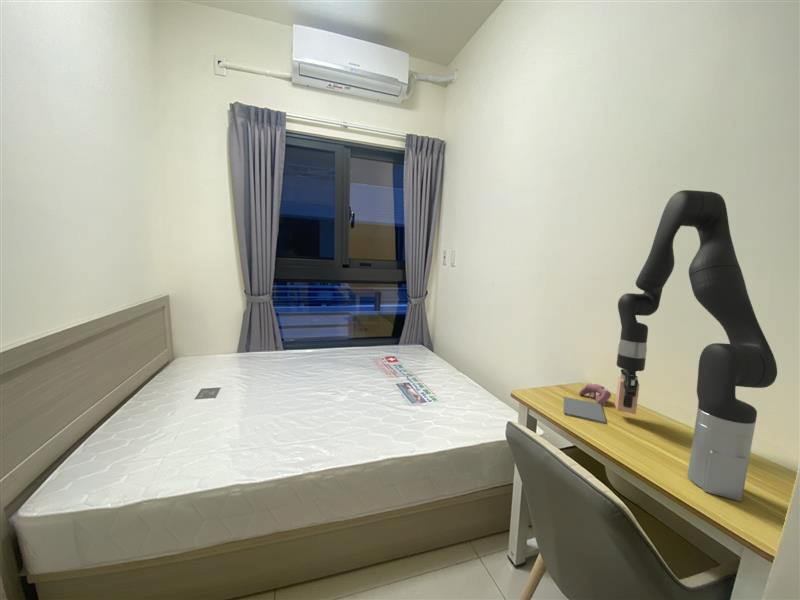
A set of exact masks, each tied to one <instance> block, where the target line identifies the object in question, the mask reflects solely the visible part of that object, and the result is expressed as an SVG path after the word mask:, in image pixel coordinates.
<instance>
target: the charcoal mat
mask: <svg viewBox="0 0 800 600" xmlns="http://www.w3.org/2000/svg"><path fill="white" fill-rule="evenodd" d="M604 413H605V412H604V410H603V407H602V405H601V404H598V403H597V402H594V401H593V402H592V401H587V400H583V399H578V398H572V397H568V396H563V415H564V414H565V415H566V416H569V417H573V418H578V419H583V420H587V421H592V422H596V423H600V424H607V420H606V417H605V414H604Z"/></svg>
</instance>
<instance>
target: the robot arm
mask: <svg viewBox="0 0 800 600" xmlns="http://www.w3.org/2000/svg"><path fill="white" fill-rule="evenodd" d="M681 227H691V228H695V229H696V231H697V233H698V234H697V235H698V237H699V248H698V251H696V253H695V255H694V257H693V259H692V260H691V263H689V264H690V265H689V267H688V277H689V281H690V285H691V290H692V292H693V296H694V297H695V299H696V300H697V302H698V303H699V305H701V306H702V307H703V308H704V309H705V310H706V311H707V312H708V313H709V314H710V315H712V317H713V318H714V319H715V320H716V321H717V322H718V323H719V324H720V325H721V327H722V328H723V330H724V332H725V334H726V336H727V339H728V341H729V343H722V342H718V343H716V342H715V343H710V344H708V345H706V346H705V347H704V348H703V349H702V351H701V353H700V356H699V360H698V370H697V380H696V381H697V383H696V395H697V400H698V401H697V402H698V403H697V413H696V418H695V421H694V422H695V423H694V430H693V436H692V442H691V450H690V455H689V462H688V469H687V477H688V479H689V480H690V482H692V483H693V484H695V485H696V486H697V487H699V488H700V489H702V491H704V492H706V493H709V494H712V495H716V496H719V497H723V498H727V499H730V500H734V501H738V502H742V500H743V496H744V490H745V485H746V480H747V479H746V478H747V473H748V468H749V463H750V456H751V451H752V444H753V439H754V434H755V428H756V422H757V417H758V410H757V409H756V408H755V407H754V406H753V405H751V404H749V403H747V402H745V401H743V400H741V399H738V398H737V396H736V387H742V388H753V389H763V388H768V387H770V386H772V385H773V383H775V382H776V379H777V375H778V366H777V360H776V358H775V356H774V352H773V350H772V349H771V346H770V345H769V343H768V340H767V338H766V336H765V334H764V332H763V330H762V327H761V325H760V323H759V321H758V317H757V316H756V313H755V310H754V308H753V305H752V302H751V299H750V296H749V293H748V289H747V285H746V281H745V278H744V275H743V272H742V268H741V266H740V263H739V260H738V258H737V255H736V251H735V248H734V243H733V239H732V236H731V230H730V223H729V217H728V210H727V204H726V202H725V199H724V197H723V196H722V195H721V194H719V193H717V192H714V191H707V190H706V191H705V190H691V189H690V190H689V189H688V190H687V189H686V190H685V189H684V190H683V189H682V190H679V191H677V192H676V193H674V194H673V195H672V196H671V197H670V198H669V200H668V201H667V203H666V205H665V207H664V209H663V211H662V215H661V217H660V221H659V223H658V227H657V229H656V233H655V236H654V239H653V242H652V246H651V249H650V252H649V254H648V257H647V259H646V261H645V263H644V264H643V267H642V268H641V271H639V272H640V273H639V274H638V277H636V280H635V286H636V287H637V288H638V289H640V290H641V291H643V293H628V292H627V293H624V294H623V295H622V296H621V297H620V298H619V299H618V302H617V310H618V315H619V320H620V325H621V329H620V330H621V331H620V340H619V342H618V343H619V344H618V349H617V356H616V357H617V358H616V366H617V367H618V368H620V377H621V378H622V379H623V381H624V383H623V387H624V388H625V391H624V402H623V405H624V407H628V408H631V407H632V401H633V397H635V396H636V390H637V385H638V383H639V380H638V378H639V377H638V375H637V372H643V371H645V366H646V359H647V352H648V351H647V350H648V348H647V347H648V345H647V342H648V334H649V326H648V325H647V324H645V323H642V322H639V321H638V320H637V316H640V317H641V316H642V317H643V316H644V317H647V316H651V315H654V313H656V312H657V311H658V309H659V308H660V302H661V297H662V292H663V288H664V287H665V285H666V284H667V282H668V280H669V278H670V276H671V275H672V274H673V273H672V272H673V270H674V269H675V255H674V254H675V253H674V239H675V237H676V235H677V233H678V231H679V230H680V228H681ZM626 382H627V386H626V385H625V383H626ZM629 390H632V393H631V392H628V391H629Z"/></svg>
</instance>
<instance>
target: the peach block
mask: <svg viewBox="0 0 800 600" xmlns="http://www.w3.org/2000/svg"><path fill="white" fill-rule="evenodd" d="M623 383H624V381H623V379H622V378H621V376H618V378H617V385H616V392H615V393H616V395H615V404H614V407H615V409H616V410H617V411H618V412H622V413H629V414H633V415H636V414H637V407H638V397H639V391H640V383H639V382H638V385H637V390H636V396H635V397H633V401H632V407H631V408H628V407H624V405H623V402H624V391H625V388H624V387H623ZM625 385H626V386H627V382H626V383H625ZM628 392H631V393H632V390H629V391H628Z"/></svg>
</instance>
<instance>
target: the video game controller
mask: <svg viewBox="0 0 800 600" xmlns="http://www.w3.org/2000/svg"><path fill="white" fill-rule="evenodd" d="M580 395H584V396H586V395H588V397H589V398H591V397H592V398H591V399H595V400H596V403H598V404H601V406H602V405H604V404H605V403H607V401H608V400H609V399H611V397H612V394H611V392H610V391H609V390H608V388H606V387H605V386H603V385H601V384H597V383H592V382H589V383H587V384H586V385H585V386H583V388H581V389H580V390H579V396H580Z"/></svg>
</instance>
